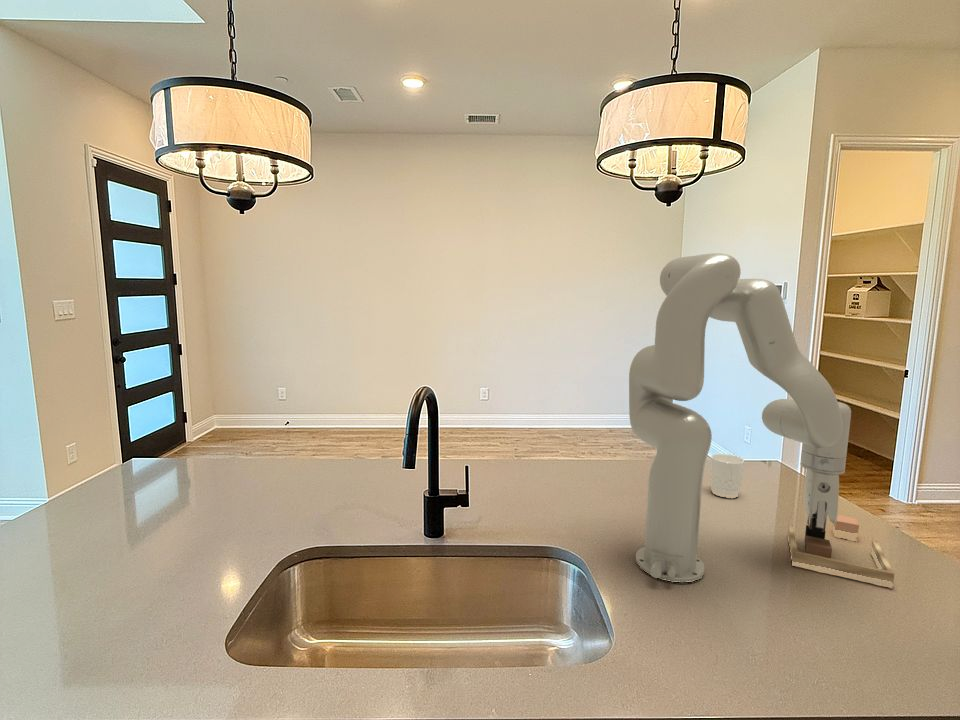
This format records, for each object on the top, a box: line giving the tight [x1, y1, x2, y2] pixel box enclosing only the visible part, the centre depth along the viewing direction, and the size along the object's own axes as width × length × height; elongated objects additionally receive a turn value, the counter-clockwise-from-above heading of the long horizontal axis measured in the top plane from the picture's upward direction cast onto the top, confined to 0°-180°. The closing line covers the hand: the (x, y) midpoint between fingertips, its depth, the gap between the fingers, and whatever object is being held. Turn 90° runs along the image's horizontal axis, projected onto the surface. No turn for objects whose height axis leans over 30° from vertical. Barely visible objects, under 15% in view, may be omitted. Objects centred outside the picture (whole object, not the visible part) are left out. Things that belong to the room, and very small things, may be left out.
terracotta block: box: [832, 514, 860, 534], centre depth 111 cm, size 4×4×4 cm
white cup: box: [710, 453, 745, 495], centre depth 134 cm, size 8×8×10 cm
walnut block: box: [803, 536, 833, 559], centre depth 100 cm, size 4×4×4 cm
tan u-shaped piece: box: [787, 523, 895, 583], centre depth 101 cm, size 14×16×3 cm
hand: (813, 546), depth 104 cm, fingers closed
